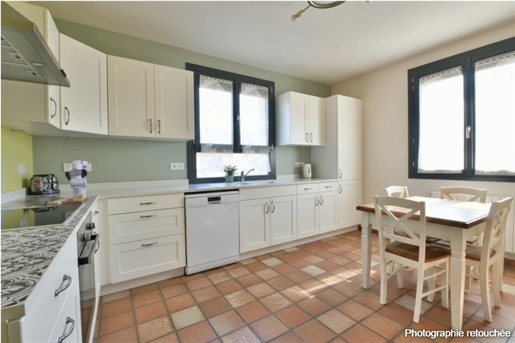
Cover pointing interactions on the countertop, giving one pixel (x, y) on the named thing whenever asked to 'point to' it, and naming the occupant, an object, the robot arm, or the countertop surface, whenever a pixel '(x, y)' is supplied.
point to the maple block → (78, 197)
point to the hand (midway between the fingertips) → (75, 178)
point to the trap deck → (64, 202)
